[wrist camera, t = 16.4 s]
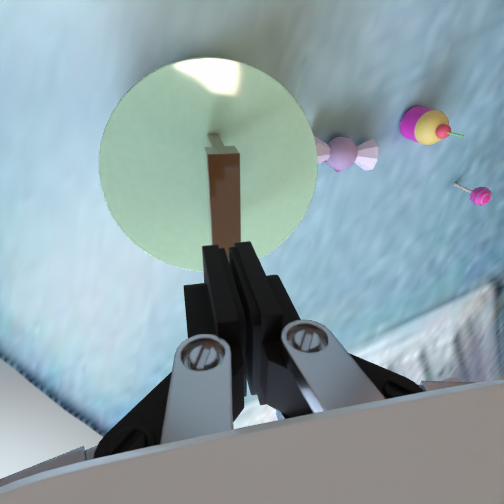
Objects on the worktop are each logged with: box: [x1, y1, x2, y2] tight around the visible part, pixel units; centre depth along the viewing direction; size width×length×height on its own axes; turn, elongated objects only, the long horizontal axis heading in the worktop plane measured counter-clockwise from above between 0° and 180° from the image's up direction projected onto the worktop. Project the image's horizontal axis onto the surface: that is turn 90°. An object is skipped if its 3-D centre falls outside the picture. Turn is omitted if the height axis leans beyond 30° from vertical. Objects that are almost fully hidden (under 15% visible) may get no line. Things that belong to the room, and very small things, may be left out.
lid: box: [99, 57, 318, 271], centre depth 20 cm, size 14×14×6 cm
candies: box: [314, 106, 492, 206], centre depth 31 cm, size 18×8×6 cm, turn 84°
